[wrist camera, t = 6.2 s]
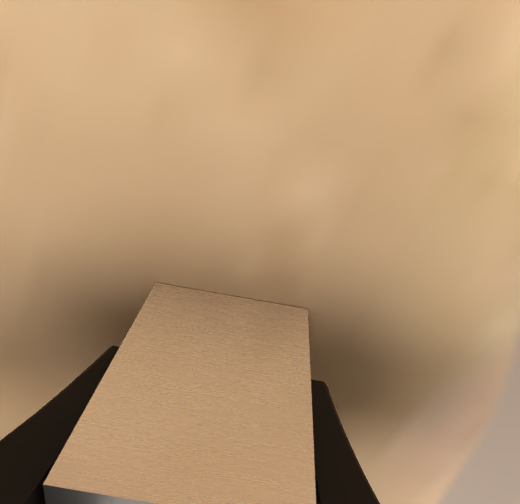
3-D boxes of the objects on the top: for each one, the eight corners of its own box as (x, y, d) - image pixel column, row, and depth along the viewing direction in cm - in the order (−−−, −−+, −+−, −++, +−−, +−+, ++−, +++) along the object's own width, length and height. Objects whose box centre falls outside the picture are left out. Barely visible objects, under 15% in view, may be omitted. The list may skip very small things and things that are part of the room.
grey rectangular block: (280, 415, 13) (271, 649, 8) (150, 392, 13) (61, 614, 8) (307, 309, 11) (317, 531, 6) (155, 282, 11) (42, 484, 6)
